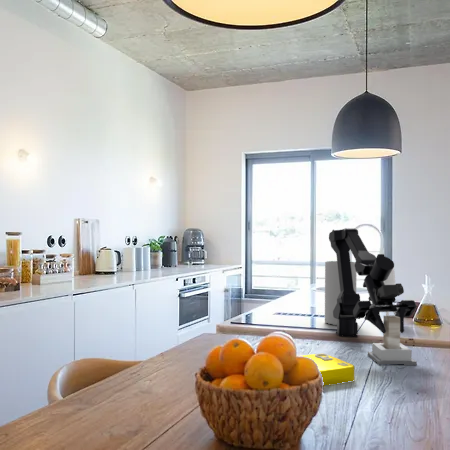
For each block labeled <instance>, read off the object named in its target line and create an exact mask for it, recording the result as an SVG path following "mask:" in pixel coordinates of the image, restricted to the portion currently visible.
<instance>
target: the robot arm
mask: <svg viewBox="0 0 450 450" xmlns="http://www.w3.org/2000/svg"><path fill="white" fill-rule="evenodd" d="M328 240H329V242H330V247H331V249H332V250H333V251H334V253H335V254H336V261H337V264H338V273H339V282H340V294H339V296H338V298H337V304H336V306H335V308H334V310H333V316H334V318H336V319H337V326H336V331H335V333H336V334H337V336H338V337H342V338H343V337H351V338H352V337H355V338H357V337H358V331H359V330H358V326H359V325H358V322H357V320H360V319H364V320H365V321H368V322H370V323H371V324H372V325H373V326H374V327H376V328H377V329H378V330H379V331H380V332H382V334H383V333H385V332H386V330H385V327H384V324H383V323H384V322H382V319H383V318H382V316H381V314H380V313H386V312H389V313H393V315H394V316H397V317H400V334H403V333H404V332H405V319H404V318H409V317H411V316H412V315H413V313H414V312H415V311H416V309H417V307H418V305H417V304H416V302H415V300H413V299H402V300H401V301H400V302H399V303H398V304H393V303H395V302H396V301H397V300H396V297H399V296H401V295H403V294H404V293H405V289H404V286H403V285H402V282H401V283H395V285H385V284H384V281H385V280H387V279H388V277H389V275H390V273H391V271H392V269H393V268H394V269H395V263H394V261H393V260H392V259H390V258H389V257H387V256H385V254H384V253H378V254H377V256H376V255H374V254H373V253H371V252H369V251H368V249H367V248H366V245H365V244H364V242H363V240H362V238H361V237H360V235H359V229H358V228H354V227H351V228H349V227H345V228H342V229H332V231H331V232H329V235H328ZM350 252H351V253H352V256H353V257H354V260H355V261H354V262H355V270H356V272H357V273H356V274H357V275H358V276H361V277H364V276H365V278H364V279H363V284H362V287H363V288H366V291H367V293H368V298H367V299H368V300H361V295H360V294H359V293H357V291H356V292H355V291H354V288H353V279H352V271H351V262H352V261H351V257H350V254H351V253H350Z"/></svg>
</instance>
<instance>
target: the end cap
mask: <svg viewBox="0 0 450 450" xmlns="http://www.w3.org/2000/svg"><path fill="white" fill-rule="evenodd" d="M371 347H372V348H371V351H367V356H368V357H369V356H370V357H371V358H372V360H373V361H374V360H375V361H376V362H377V363H378V364H404V365H403V366H417V364H418V363H417V362H418V361H416V360H415V359H414V358H413V357H412V356H413V355H412V350H411V349H410V348H409V347H407V346H406V345H404V344H403V343H401V342H400V349H385V348H384V347H383V342H372V345H371ZM370 357H369V358H370ZM371 358H370V359H371ZM375 361H374V362H375ZM376 362H375V363H376ZM377 363H376V364H377ZM378 364H377V365H378Z"/></svg>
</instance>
